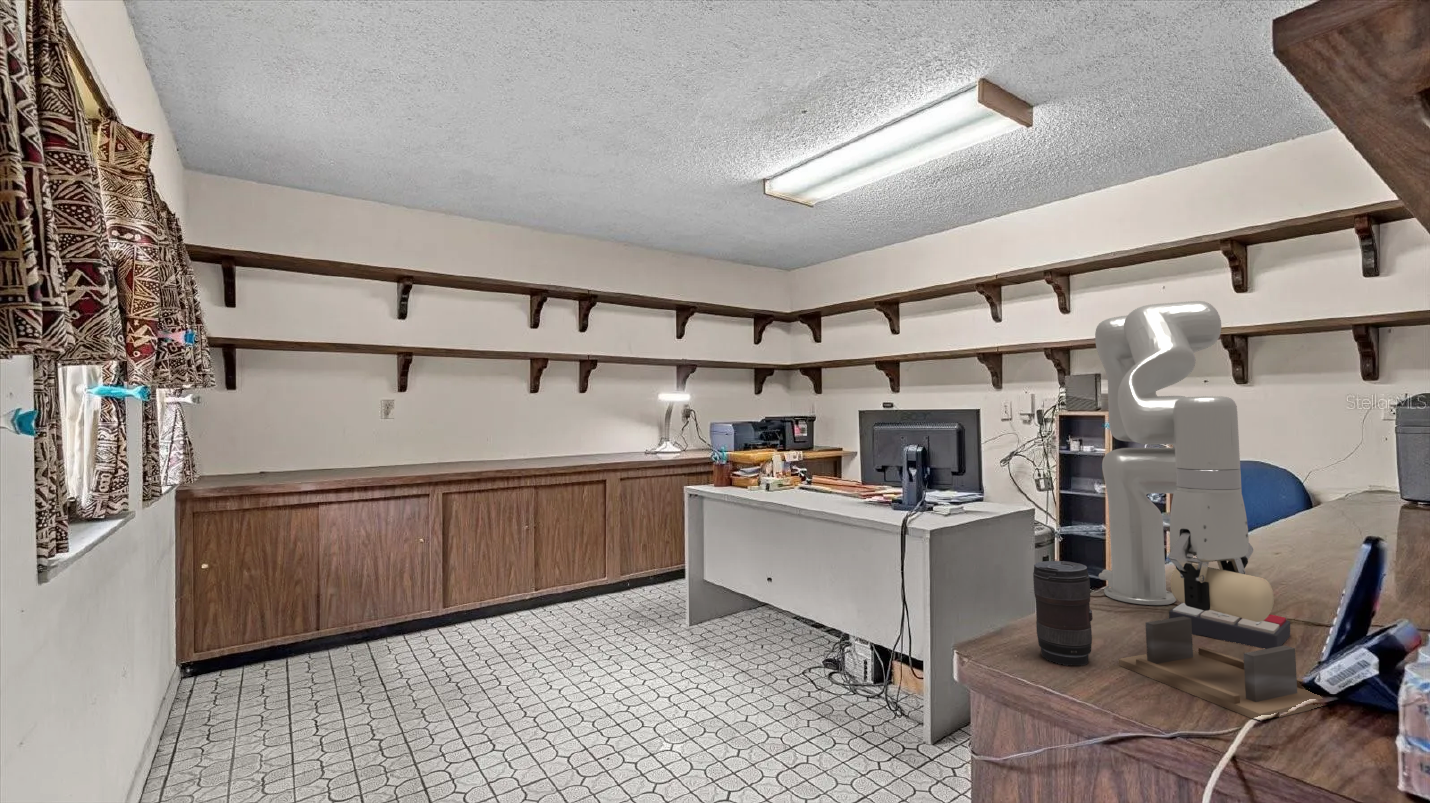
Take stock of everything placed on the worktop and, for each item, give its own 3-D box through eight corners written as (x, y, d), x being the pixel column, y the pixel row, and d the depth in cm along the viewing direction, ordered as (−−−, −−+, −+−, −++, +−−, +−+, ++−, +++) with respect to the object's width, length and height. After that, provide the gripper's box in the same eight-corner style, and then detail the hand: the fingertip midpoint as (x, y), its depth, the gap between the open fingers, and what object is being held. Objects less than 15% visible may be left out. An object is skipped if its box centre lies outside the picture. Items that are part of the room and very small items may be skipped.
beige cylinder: (1184, 611, 97) (1164, 582, 96) (1205, 582, 98) (1185, 554, 97) (1258, 631, 87) (1235, 599, 86) (1279, 598, 89) (1258, 567, 88)
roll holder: (1118, 665, 100) (1116, 620, 100) (1184, 653, 104) (1182, 609, 105) (1260, 721, 81) (1257, 665, 81) (1334, 704, 85) (1331, 651, 86)
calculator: (1276, 630, 104) (1168, 606, 116) (1276, 657, 104) (1167, 630, 116) (1291, 616, 111) (1187, 594, 123) (1290, 641, 111) (1186, 617, 123)
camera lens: (1053, 645, 109) (1049, 557, 110) (1103, 659, 103) (1099, 565, 103) (1026, 656, 105) (1022, 564, 105) (1076, 671, 98) (1072, 573, 99)
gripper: (1223, 476, 100) (1229, 593, 99) (1139, 481, 95) (1145, 605, 94) (1278, 480, 93) (1285, 606, 92) (1190, 486, 87) (1197, 619, 87)
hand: (1214, 604), depth 93 cm, fingers closed on beige cylinder, 5 cm apart
